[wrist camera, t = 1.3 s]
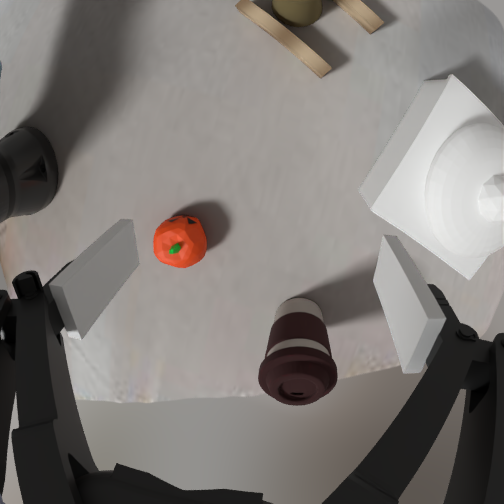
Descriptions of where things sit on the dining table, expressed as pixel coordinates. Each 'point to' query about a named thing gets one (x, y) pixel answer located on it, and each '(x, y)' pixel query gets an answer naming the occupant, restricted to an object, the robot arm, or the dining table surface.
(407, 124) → the butter dish
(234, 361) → the dining table surface
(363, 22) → the pair of wooden strips
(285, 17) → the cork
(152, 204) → the dining table surface
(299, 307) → the coffee cup
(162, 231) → the pumpkin
